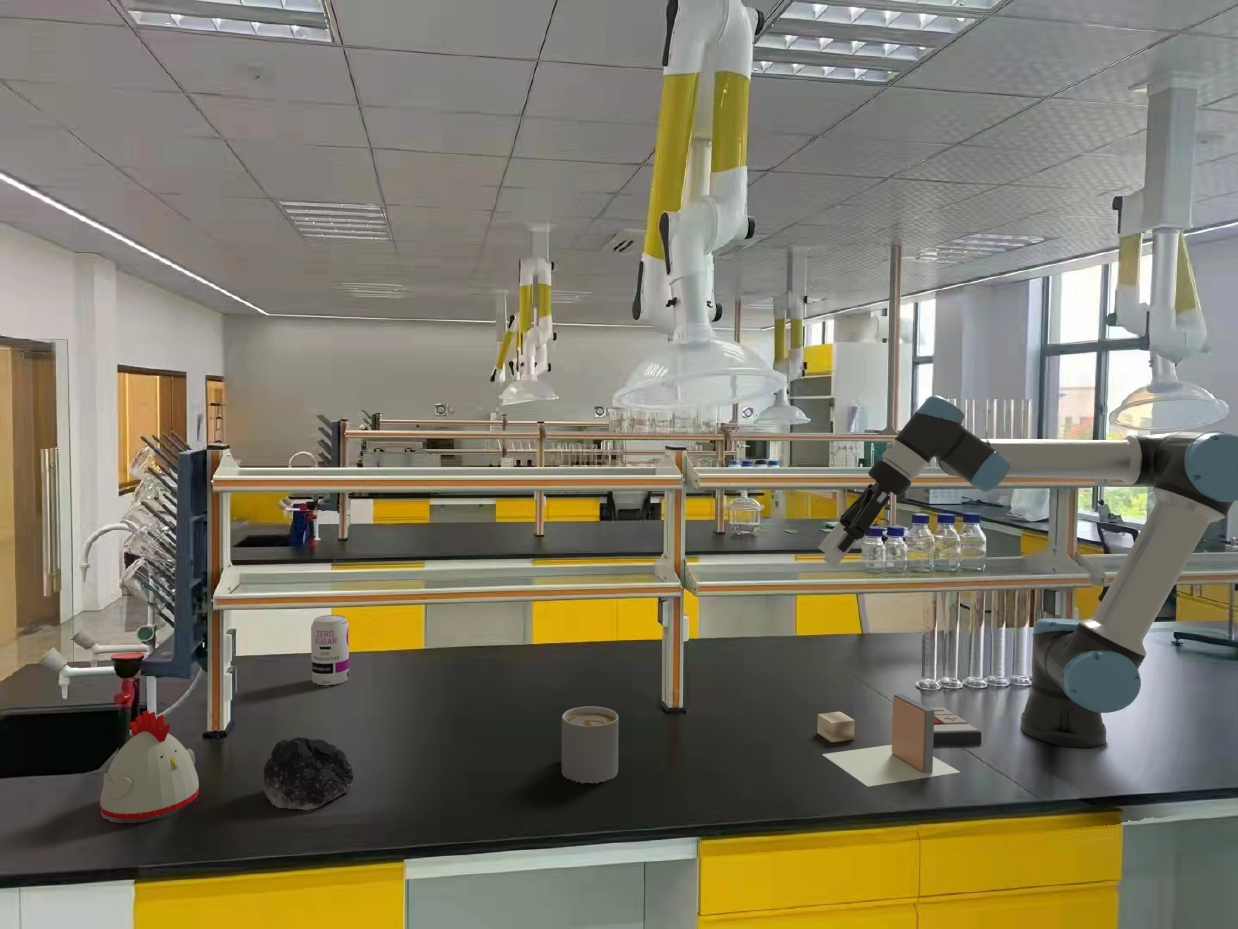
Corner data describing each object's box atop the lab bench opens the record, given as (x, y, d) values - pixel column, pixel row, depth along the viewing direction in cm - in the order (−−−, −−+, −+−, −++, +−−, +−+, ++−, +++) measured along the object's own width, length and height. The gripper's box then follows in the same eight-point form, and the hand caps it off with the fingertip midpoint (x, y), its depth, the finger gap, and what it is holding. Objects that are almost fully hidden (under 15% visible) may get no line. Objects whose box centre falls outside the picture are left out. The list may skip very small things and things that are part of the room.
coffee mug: (621, 782, 144) (621, 725, 143) (563, 785, 143) (563, 727, 142) (612, 751, 157) (612, 699, 156) (559, 753, 156) (559, 700, 155)
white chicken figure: (141, 831, 126) (139, 733, 125) (79, 814, 131) (76, 719, 130) (218, 793, 138) (216, 704, 138) (159, 778, 144) (157, 692, 143)
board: (908, 748, 160) (908, 742, 160) (960, 778, 146) (960, 772, 146) (821, 760, 154) (821, 754, 154) (867, 793, 140) (867, 786, 140)
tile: (899, 752, 155) (901, 693, 154) (932, 772, 146) (934, 710, 146) (890, 753, 154) (892, 694, 154) (922, 773, 146) (924, 711, 145)
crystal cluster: (366, 799, 138) (368, 738, 139) (285, 820, 129) (288, 753, 129) (329, 780, 148) (331, 723, 148) (251, 798, 138) (253, 736, 139)
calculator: (944, 705, 174) (982, 728, 159) (944, 726, 174) (982, 751, 160) (893, 706, 173) (927, 730, 158) (893, 727, 173) (926, 752, 158)
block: (839, 736, 166) (839, 711, 166) (854, 745, 161) (854, 720, 161) (817, 739, 164) (817, 714, 164) (831, 749, 159) (832, 723, 159)
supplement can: (344, 674, 202) (343, 612, 201) (352, 684, 195) (351, 620, 194) (308, 679, 198) (308, 616, 197) (316, 689, 191) (315, 624, 190)
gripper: (871, 454, 170) (807, 536, 174) (889, 460, 146) (813, 556, 149) (902, 477, 170) (836, 558, 173) (925, 487, 145) (848, 582, 148)
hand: (826, 557), depth 161 cm, fingers open, 13 cm apart
